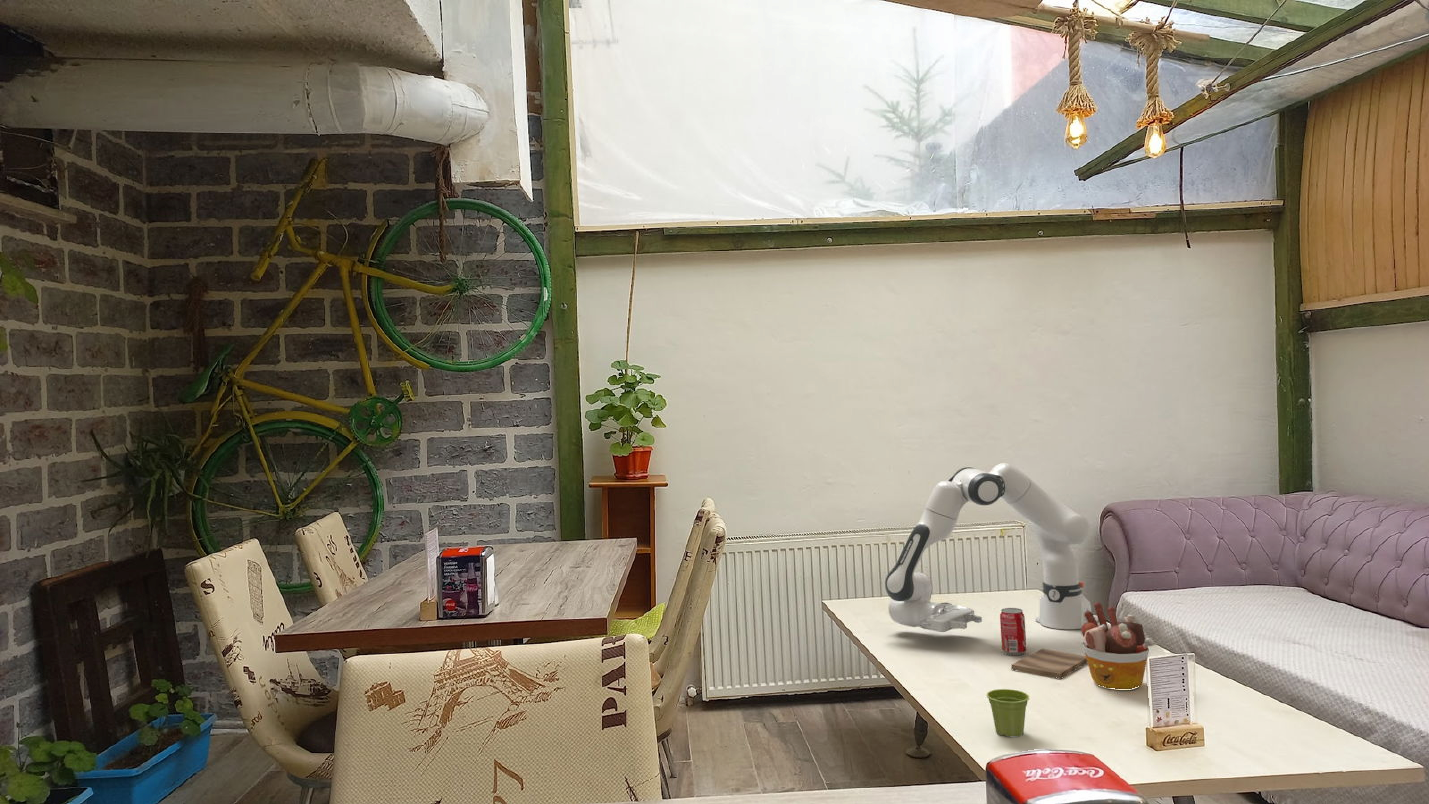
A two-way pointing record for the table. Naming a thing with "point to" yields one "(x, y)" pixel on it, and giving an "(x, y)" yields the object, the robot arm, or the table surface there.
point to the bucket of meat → (1115, 650)
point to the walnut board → (1050, 663)
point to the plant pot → (1008, 710)
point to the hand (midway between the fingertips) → (973, 622)
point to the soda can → (1013, 631)
